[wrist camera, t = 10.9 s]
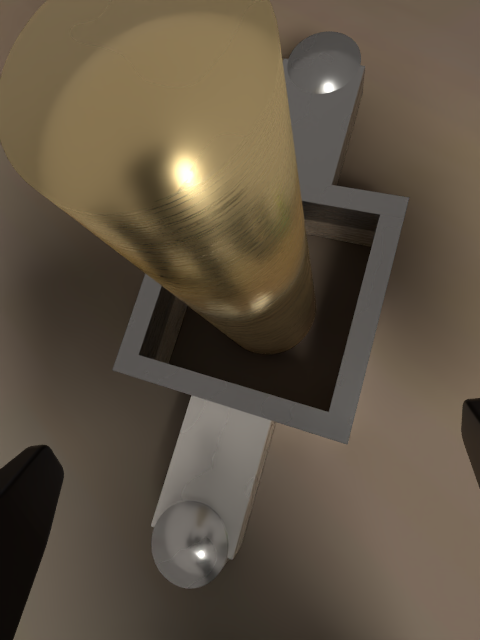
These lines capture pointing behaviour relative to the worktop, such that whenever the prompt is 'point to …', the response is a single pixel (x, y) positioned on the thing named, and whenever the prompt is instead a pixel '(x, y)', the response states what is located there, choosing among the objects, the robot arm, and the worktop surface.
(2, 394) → the worktop surface
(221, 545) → the ball-tipped frame bar
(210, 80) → the brass pin
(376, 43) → the worktop surface
